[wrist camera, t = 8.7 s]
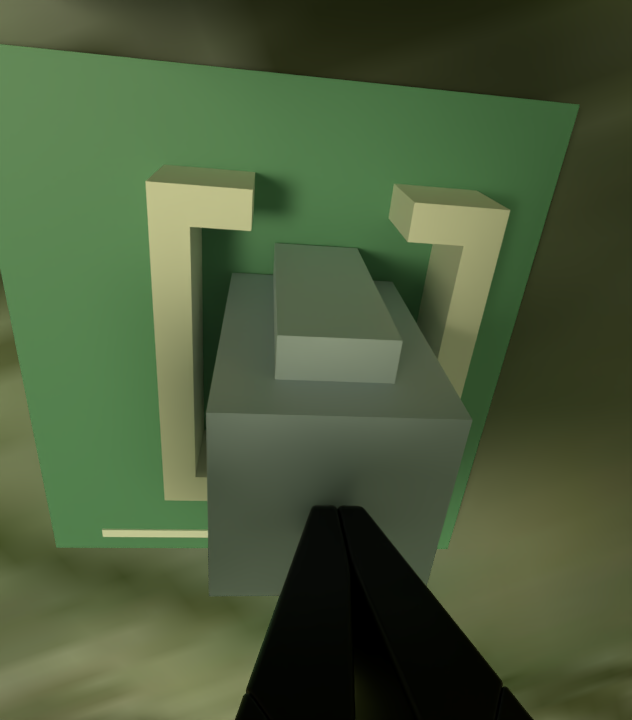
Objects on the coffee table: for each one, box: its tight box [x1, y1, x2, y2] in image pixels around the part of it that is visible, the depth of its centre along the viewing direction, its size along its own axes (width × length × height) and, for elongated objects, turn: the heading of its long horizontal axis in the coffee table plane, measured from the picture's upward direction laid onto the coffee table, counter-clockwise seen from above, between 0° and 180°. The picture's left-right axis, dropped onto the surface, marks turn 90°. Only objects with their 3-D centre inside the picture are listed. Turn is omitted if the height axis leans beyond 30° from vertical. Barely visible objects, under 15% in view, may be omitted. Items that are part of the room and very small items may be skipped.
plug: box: [206, 243, 472, 596], centre depth 11 cm, size 5×4×6 cm
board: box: [0, 44, 580, 549], centre depth 14 cm, size 14×13×3 cm
